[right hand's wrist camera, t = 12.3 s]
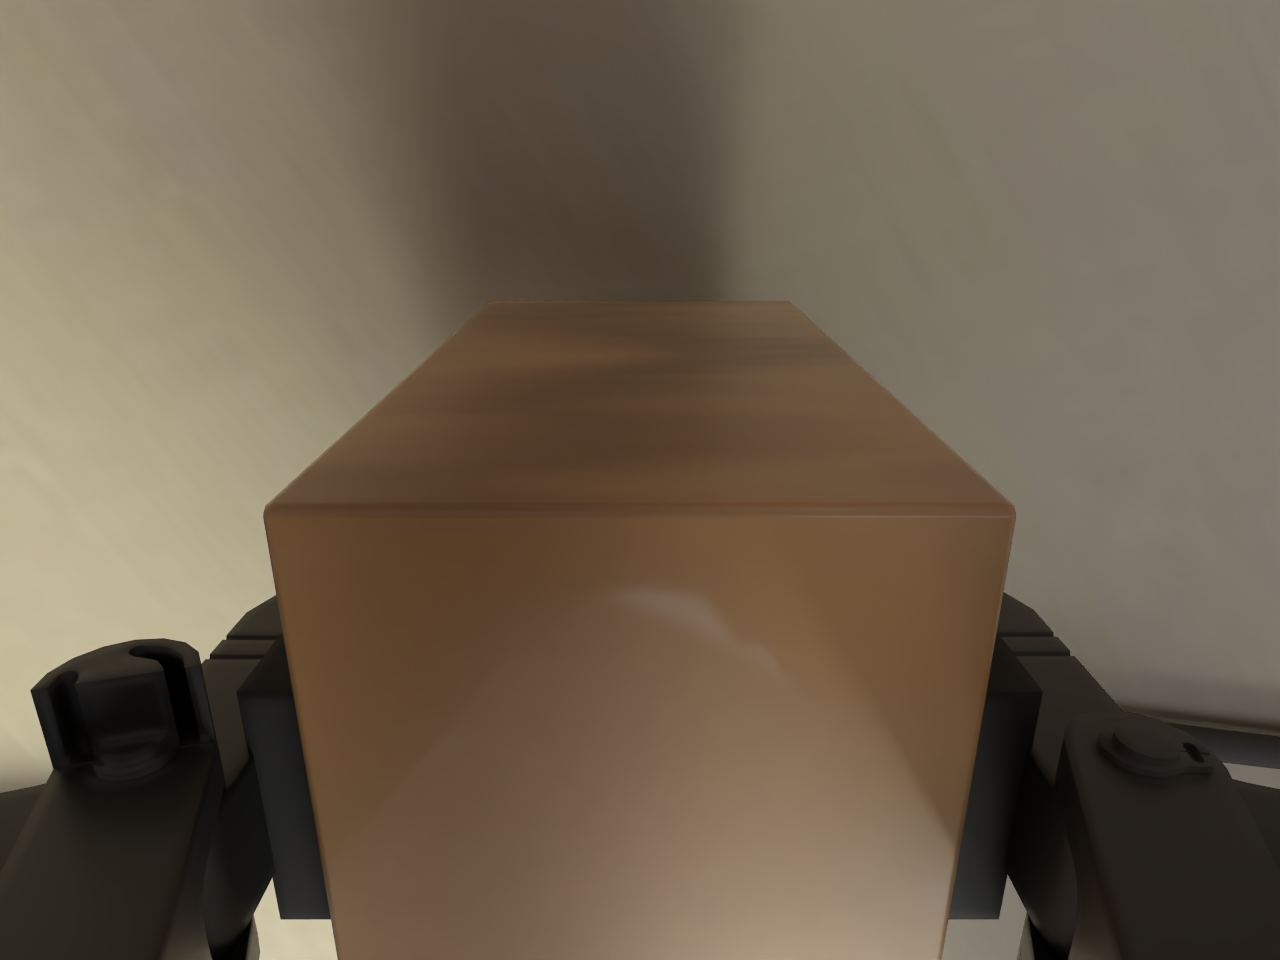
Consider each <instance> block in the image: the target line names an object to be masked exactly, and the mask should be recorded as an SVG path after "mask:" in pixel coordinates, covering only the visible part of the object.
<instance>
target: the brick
mask: <svg viewBox="0 0 1280 960" xmlns="http://www.w3.org/2000/svg"><path fill="white" fill-rule="evenodd" d="M263 518H264V524H265V529H266V535H267V541H268V547H269V553H270V559H271V565H272V571H273V577H274V583H275V589H276V595H277V601H278V607H279V613H280V619H281V624H282V630H283V636H284V642H285V648H286V654H287V660H288V666H289V672H290V678H291V684H292V690H293V696H294V702H295V708H296V714H297V720H298V725H299V731H300V737H301V743H302V749H303V755H304V761H305V767H306V773H307V779H308V785H309V791H310V797H311V803H312V809H313V815H314V821H315V826H316V832H317V838H318V844H319V850H320V856H321V862H322V868H323V874H324V880H325V886H326V892H327V898H328V904H329V910H330V916H331V921H332V927H333V933H334V939H335V945H336V951H337V957H338V960H942V954H943V948H944V942H945V936H946V930H947V924H948V918H949V912H950V906H951V900H952V894H953V888H954V882H955V876H956V870H957V865H958V859H959V853H960V847H961V841H962V835H963V829H964V823H965V817H966V811H967V805H968V799H969V793H970V787H971V781H972V775H973V769H974V763H975V757H976V751H977V745H978V740H979V734H980V728H981V722H982V716H983V710H984V704H985V698H986V692H987V686H988V680H989V674H990V668H991V662H992V656H993V650H994V644H995V638H996V632H997V626H998V621H999V615H1000V609H1001V603H1002V597H1003V591H1004V585H1005V579H1006V573H1007V567H1008V561H1009V555H1010V549H1011V543H1012V537H1013V531H1014V525H1015V519H1016V512H1015V509H1014V505H1012V504H1011V503H1010V502H1009V501H1008V500H1007V499H1006V498H1005V497H1004V496H1003V495H1001V494H1000V493H999V492H998V491H997V490H996V489H995V488H994V487H993V486H992V485H991V484H989V483H988V482H987V481H986V480H985V479H984V478H983V477H982V476H981V475H980V474H978V473H977V472H976V471H975V470H974V469H973V468H972V467H971V466H970V465H969V464H967V463H966V462H965V461H964V460H963V459H962V458H961V457H960V456H959V455H958V454H957V453H955V452H954V451H953V450H952V449H951V448H950V447H949V446H948V445H947V444H946V443H944V442H943V441H942V440H941V439H940V438H939V437H938V436H937V435H936V434H935V433H933V432H932V431H931V430H930V429H929V428H928V427H927V426H926V425H925V424H924V423H923V422H921V421H920V420H919V419H918V418H917V417H916V416H915V415H914V414H913V413H912V412H910V411H909V410H908V409H907V408H906V407H905V406H904V405H903V404H902V403H901V402H899V401H898V400H897V399H896V398H895V397H894V396H893V395H892V394H891V393H890V392H889V391H887V390H886V389H885V388H884V387H883V386H882V385H881V384H880V383H879V382H878V381H876V380H875V379H874V378H873V377H872V376H871V375H870V374H869V373H868V372H867V371H865V370H864V369H863V368H862V367H861V366H860V365H859V364H858V363H857V362H856V361H854V360H853V359H852V358H851V357H850V356H849V355H848V354H847V353H846V352H845V351H844V350H842V349H841V348H840V347H839V346H838V345H837V344H836V343H835V342H834V341H833V340H831V339H830V338H829V337H828V336H827V335H826V334H825V333H824V332H823V331H822V330H820V329H819V328H818V327H817V326H816V325H815V324H814V323H813V322H812V321H811V320H810V319H808V318H807V317H806V316H805V315H804V314H803V313H802V312H801V311H800V310H799V309H797V308H796V307H795V306H794V305H793V304H792V303H791V302H789V301H491V302H489V303H488V304H487V305H486V306H484V307H483V308H482V309H481V310H480V311H479V312H478V313H477V314H476V315H475V316H473V317H472V318H471V319H470V320H469V321H468V322H467V323H466V324H465V325H464V326H462V327H461V328H460V329H459V330H458V331H457V332H456V333H455V334H454V335H453V336H451V337H450V338H449V339H448V340H447V341H446V342H445V343H444V344H443V345H442V346H441V347H439V348H438V349H437V350H436V351H435V352H434V353H433V354H432V355H431V356H430V357H428V358H427V359H426V360H425V361H424V362H423V363H422V364H421V365H420V366H419V367H417V368H416V369H415V370H414V371H413V372H412V373H411V374H410V375H409V376H408V377H406V378H405V379H404V380H403V381H402V382H401V383H400V384H399V385H398V386H397V387H395V388H394V389H393V390H392V391H391V392H390V393H389V394H388V395H387V396H386V397H384V398H383V399H382V400H381V401H380V402H379V403H378V404H377V405H376V406H375V407H373V408H372V409H371V410H370V411H369V412H368V413H367V414H366V415H365V416H364V417H362V418H361V419H360V420H359V421H358V422H357V423H356V424H355V425H354V426H353V427H351V428H350V429H349V430H348V431H347V432H346V433H345V434H344V435H343V436H342V437H340V438H339V439H338V440H337V441H336V442H335V443H334V444H333V445H332V446H331V447H329V448H328V449H327V450H326V451H325V452H324V453H323V454H322V455H321V456H320V457H319V458H317V459H316V460H315V461H314V462H313V463H312V464H311V465H310V466H309V467H308V468H306V469H305V470H304V471H303V472H302V473H301V474H300V475H299V476H298V477H297V478H295V479H294V480H293V481H292V482H291V483H290V484H289V485H288V486H287V487H286V488H284V489H283V490H282V491H281V492H280V493H279V494H278V495H277V496H276V497H275V498H273V499H272V500H271V501H270V502H269V503H268V504H267V505H266V506H265V510H264V513H263Z"/></svg>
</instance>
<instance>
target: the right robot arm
mask: <svg viewBox="0 0 1280 960" xmlns="http://www.w3.org/2000/svg"><path fill="white" fill-rule="evenodd" d="M30 691H31V694H32V697H33V701H34V704H35V708H36V711H37V714H38V718H39V721H40V725H41V728H42V731H43V735H44V738H45V741H46V745H47V748H48V752H49V755H50V758H51V762H52V765H53V771H52V773H51V775H50V777H49V779H48V781H47V783H46V784H42V785H38V786H34V787H29V788H24V789H19V790H14V791H9V792H4V793H0V960H259V955H260V948H259V940H258V933H257V928H256V923H255V919H254V912H255V910H256V908H257V906H258V904H259V902H260V900H261V898H262V896H263V894H264V892H265V891H266V889H267V887H268V885H269V883H270V881H271V879H272V877H273V882H274V887H275V892H276V897H277V903H278V908H279V913H280V918H281V919H331V916H330V910H329V904H328V898H327V892H326V886H325V880H324V874H323V868H322V862H321V856H320V850H319V844H318V838H317V832H316V826H315V821H314V815H313V809H312V803H311V797H310V791H309V785H308V779H307V773H306V767H305V761H304V755H303V749H302V743H301V737H300V731H299V725H298V720H297V714H296V708H295V702H294V696H293V690H292V684H291V678H290V672H289V666H288V660H287V654H286V648H285V642H284V636H283V630H282V624H281V619H280V613H279V607H278V601H277V595H275V596H274V597H272V598H270V599H269V600H267V601H265V602H264V603H262V604H260V605H259V606H257V607H255V608H254V609H252V610H250V611H249V612H247V613H246V614H245V615H244V616H243V617H242V618H241V620H240V621H239V622H238V623H237V624H236V625H235V626H234V628H233V629H232V630H231V631H230V632H229V633H228V634H227V639H226V640H222V641H221V642H220V644H219V645H218V646H217V647H216V648H215V649H214V650H213V652H212V653H211V654H210V659H205V661H204V662H203V663H202V664H201V661H200V657H199V652H198V651H197V650H195V649H194V648H192V647H191V646H190V645H188V644H187V643H185V642H180V641H175V640H169V639H164V638H163V639H142V640H132V641H128V642H123V643H119V644H114V645H109V646H105V647H102V648H99V649H96V650H94V651H91V652H88V653H86V654H83V655H80V656H78V657H75V658H73V659H71V660H69V661H68V662H66V663H64V664H62V665H61V666H59V667H57V668H56V669H54V670H52V671H51V672H49V673H47V674H46V675H45V676H44V677H43V678H42V679H41V680H40V681H39V682H38V683H37V684H36V685H35V686H34V687H33V688H32V689H31V690H30ZM1222 762H1225V763H1233V764H1242V765H1250V766H1258V767H1267V768H1275V769H1280V737H1277V736H1269V735H1261V734H1252V733H1244V732H1236V731H1227V730H1219V729H1211V728H1203V727H1195V726H1187V725H1179V724H1172V723H1164V722H1162V721H1159V720H1157V719H1153V718H1149V717H1145V716H1141V715H1137V714H1133V713H1129V712H1123V711H1122V709H1121V708H1120V707H1119V706H1118V705H1117V704H1116V703H1115V702H1114V700H1113V699H1112V698H1111V697H1110V696H1109V695H1108V694H1107V693H1106V691H1105V690H1104V689H1103V688H1102V687H1101V686H1100V685H1099V683H1098V682H1097V681H1096V680H1095V679H1094V678H1093V677H1092V676H1091V674H1090V673H1089V672H1088V671H1087V670H1086V669H1085V668H1084V666H1083V665H1082V664H1081V663H1080V662H1079V661H1078V660H1077V659H1076V657H1075V656H1070V651H1069V650H1068V648H1067V647H1066V646H1065V645H1064V644H1063V643H1062V642H1061V640H1060V639H1059V638H1058V637H1054V636H1053V631H1052V630H1051V629H1050V628H1049V627H1048V626H1047V625H1046V623H1045V622H1044V621H1043V620H1042V619H1041V618H1040V617H1039V616H1038V614H1037V613H1036V612H1035V611H1034V610H1033V609H1031V608H1030V607H1028V606H1026V605H1025V604H1023V603H1021V602H1019V601H1018V600H1016V599H1014V598H1013V597H1011V596H1009V595H1008V594H1006V593H1004V592H1003V597H1002V603H1001V609H1000V615H999V621H998V626H997V632H996V638H995V644H994V650H993V656H992V662H991V668H990V674H989V680H988V686H987V692H986V698H985V704H984V710H983V716H982V722H981V728H980V734H979V740H978V745H977V751H976V757H975V763H974V769H973V775H972V781H971V787H970V793H969V799H968V805H967V811H966V817H965V823H964V829H963V835H962V841H961V847H960V853H959V859H958V865H957V870H956V876H955V882H954V888H953V894H952V900H951V906H950V912H949V918H948V919H999V915H1000V910H1001V904H1002V899H1003V894H1004V889H1005V884H1006V879H1007V874H1008V876H1009V878H1010V879H1011V881H1012V883H1013V885H1014V887H1015V889H1016V891H1017V893H1018V895H1019V897H1020V899H1021V901H1022V903H1023V905H1024V907H1025V908H1026V910H1027V914H1026V919H1025V923H1024V928H1023V933H1022V938H1021V942H1020V947H1019V952H1018V957H1017V960H1280V789H1275V788H1270V787H1265V786H1260V785H1255V784H1250V783H1246V782H1242V781H1238V780H1234V779H1232V778H1231V776H1230V774H1229V772H1228V770H1227V768H1226V767H1225V766H1224V764H1223V763H1222Z"/></svg>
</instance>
